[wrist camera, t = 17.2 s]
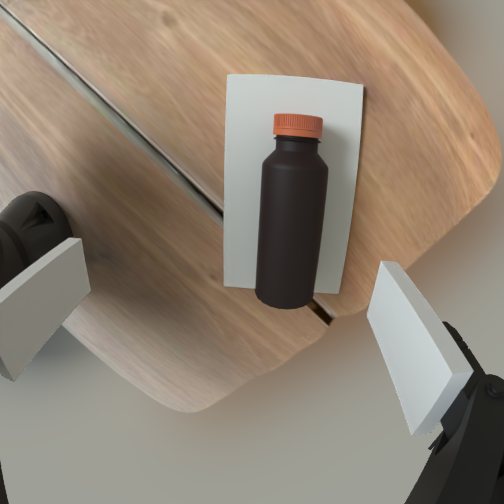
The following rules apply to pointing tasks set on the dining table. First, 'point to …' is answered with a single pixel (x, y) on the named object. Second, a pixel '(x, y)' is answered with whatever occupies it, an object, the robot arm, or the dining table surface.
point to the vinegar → (291, 213)
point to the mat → (262, 145)
